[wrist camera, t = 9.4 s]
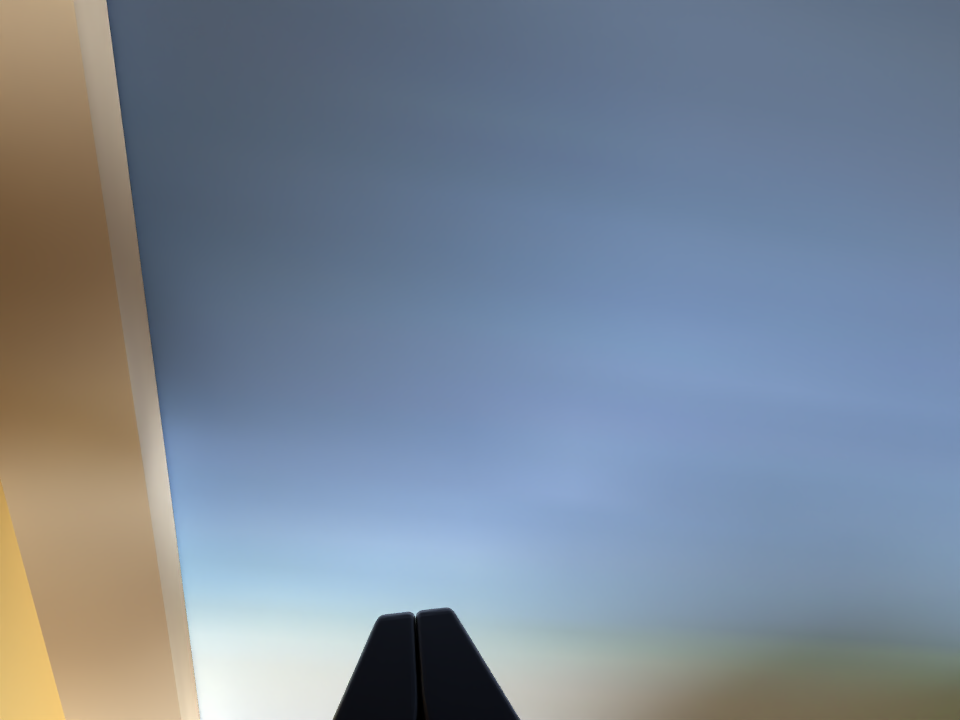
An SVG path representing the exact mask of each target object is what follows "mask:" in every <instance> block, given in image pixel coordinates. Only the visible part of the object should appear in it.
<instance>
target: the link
mask: <svg viewBox="0 0 960 720" xmlns="http://www.w3.org/2000/svg"><path fill="white" fill-rule="evenodd" d="M0 720H65V716H64V712H63V709H62V705H61V701H60V698H59V694H58V690H57V687H56V683H55V679H54V675H53V672H52V668H51V664H50V661H49V657H48V653H47V650H46V646H45V642H44V638H43V635H42V631H41V627H40V624H39V620H38V616H37V613H36V609H35V605H34V602H33V598H32V594H31V590H30V587H29V583H28V579H27V576H26V572H25V568H24V565H23V561H22V557H21V553H20V550H19V546H18V542H17V539H16V535H15V531H14V528H13V524H12V520H11V516H10V513H9V509H8V505H7V502H6V498H5V494H4V491H3V487H2V483H1V479H0Z"/></svg>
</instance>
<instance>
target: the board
mask: <svg viewBox="0 0 960 720" xmlns="http://www.w3.org/2000/svg"><path fill="white" fill-rule="evenodd" d="M0 479H1V483H2V487H3V491H4V494H5V498H6V502H7V505H8V509H9V513H10V516H11V520H12V524H13V528H14V531H15V535H16V539H17V542H18V546H19V550H20V553H21V557H22V561H23V565H24V568H25V572H26V576H27V579H28V583H29V587H30V590H31V594H32V598H33V602H34V605H35V609H36V613H37V616H38V620H39V624H40V627H41V631H42V635H43V638H44V642H45V646H46V650H47V653H48V657H49V661H50V664H51V668H52V672H53V675H54V679H55V683H56V687H57V690H58V694H59V698H60V701H61V705H62V709H63V712H64V716H65V720H200V715H199V707H198V699H197V692H196V684H195V676H194V669H193V661H192V654H191V646H190V638H189V631H188V623H187V615H186V608H185V600H184V592H183V585H182V577H181V569H180V562H179V554H178V546H177V539H176V531H175V523H174V516H173V508H172V500H171V493H170V485H169V477H168V470H167V462H166V454H165V447H164V439H163V431H162V424H161V416H160V408H159V401H158V393H157V385H156V378H155V370H154V362H153V355H152V347H151V339H150V332H149V324H148V316H147V309H146V301H145V293H144V286H143V278H142V270H141V263H140V255H139V248H138V240H137V232H136V225H135V217H134V209H133V202H132V194H131V186H130V179H129V171H128V163H127V156H126V148H125V140H124V133H123V125H122V117H121V110H120V102H119V94H118V87H117V79H116V71H115V64H114V56H113V48H112V41H111V33H110V25H109V18H108V10H107V2H106V0H0Z"/></svg>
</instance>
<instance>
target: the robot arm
mask: <svg viewBox="0 0 960 720" xmlns="http://www.w3.org/2000/svg"><path fill="white" fill-rule="evenodd" d="M333 720H520V719H519V717H518V715H517V714H516V712H515V710H514V709H513V707H512V706H511V704H510V702H509V701H508V699H507V697H506V696H505V694H504V692H503V691H502V689H501V687H500V686H499V684H498V683H497V681H496V679H495V678H494V676H493V674H492V673H491V671H490V669H489V668H488V666H487V665H486V663H485V661H484V660H483V658H482V656H481V655H480V653H479V651H478V650H477V648H476V647H475V645H474V643H473V642H472V640H471V638H470V637H469V635H468V633H467V632H466V630H465V628H464V627H463V625H462V624H461V622H460V620H459V619H458V617H457V615H456V614H455V612H454V611H453V610H452V609H450V608H438V609H429V610H422V611H419V612H418V613H417V615H416V618H415V616H414V614H413V613H411V612H403V613H394V614H385V615H382V616H380V617H379V618H378V619H377V621H376V622H375V624H374V627H373V629H372V631H371V633H370V636H369V638H368V640H367V642H366V645H365V647H364V649H363V652H362V654H361V656H360V658H359V661H358V663H357V665H356V668H355V670H354V672H353V674H352V677H351V679H350V681H349V683H348V686H347V688H346V690H345V693H344V695H343V697H342V699H341V702H340V704H339V706H338V709H337V711H336V713H335V715H334V718H333Z"/></svg>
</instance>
